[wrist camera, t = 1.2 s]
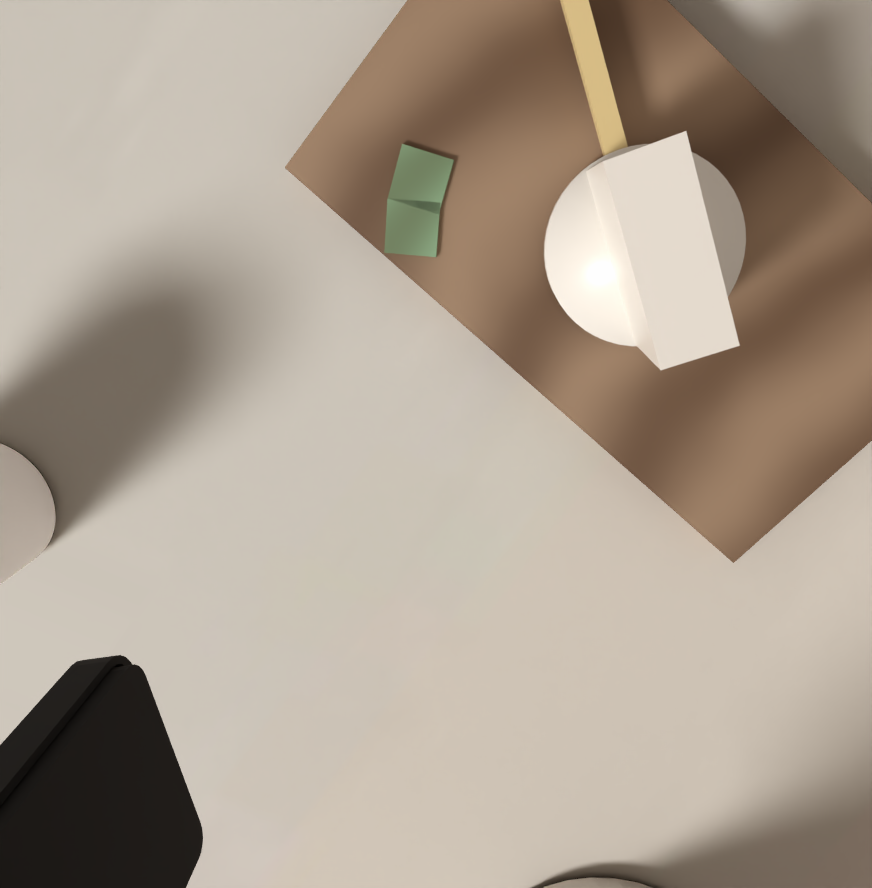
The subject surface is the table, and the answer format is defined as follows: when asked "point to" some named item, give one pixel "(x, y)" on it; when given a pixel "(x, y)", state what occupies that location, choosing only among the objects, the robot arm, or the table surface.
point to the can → (22, 512)
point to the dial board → (526, 217)
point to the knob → (643, 232)
